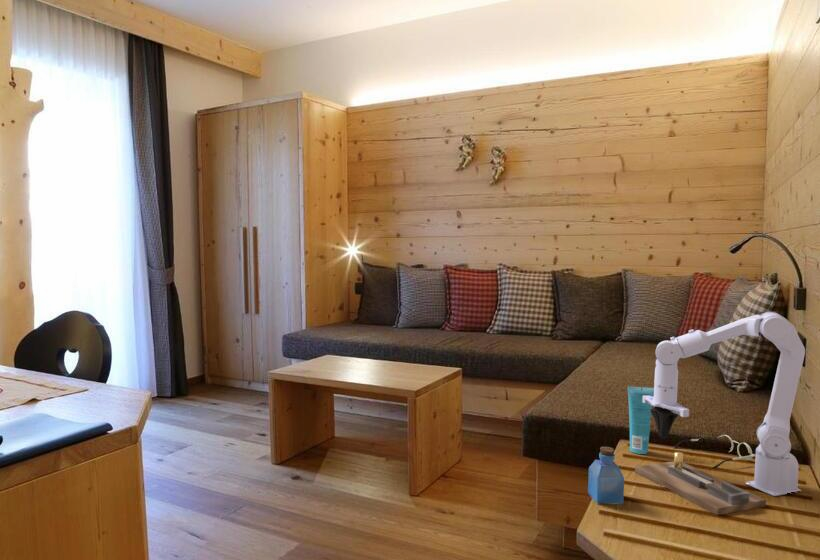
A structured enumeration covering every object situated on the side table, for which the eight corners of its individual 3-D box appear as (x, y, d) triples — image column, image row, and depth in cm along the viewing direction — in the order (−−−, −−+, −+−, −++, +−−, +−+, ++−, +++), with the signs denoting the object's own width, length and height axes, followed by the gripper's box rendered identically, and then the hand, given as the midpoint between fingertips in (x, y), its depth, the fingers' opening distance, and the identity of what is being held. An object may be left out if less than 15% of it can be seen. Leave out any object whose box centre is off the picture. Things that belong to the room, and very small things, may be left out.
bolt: (674, 469, 152) (675, 450, 152) (712, 487, 141) (713, 466, 141) (668, 470, 152) (669, 450, 151) (706, 488, 140) (707, 467, 140)
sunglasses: (759, 466, 161) (760, 449, 161) (713, 470, 158) (714, 452, 157) (714, 446, 178) (715, 430, 177) (671, 449, 174) (672, 432, 174)
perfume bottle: (613, 492, 141) (614, 444, 140) (623, 504, 135) (625, 453, 134) (587, 492, 141) (589, 444, 140) (596, 504, 134) (598, 453, 134)
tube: (648, 449, 172) (651, 385, 171) (654, 455, 167) (657, 389, 166) (623, 448, 173) (625, 384, 172) (627, 454, 168) (630, 388, 167)
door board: (679, 465, 159) (679, 453, 159) (765, 506, 135) (766, 491, 135) (635, 472, 154) (635, 459, 154) (716, 515, 130) (717, 499, 130)
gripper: (634, 380, 160) (632, 429, 161) (674, 393, 146) (672, 446, 147) (654, 379, 162) (652, 426, 163) (696, 391, 149) (693, 443, 149)
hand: (663, 435), depth 155 cm, fingers closed
